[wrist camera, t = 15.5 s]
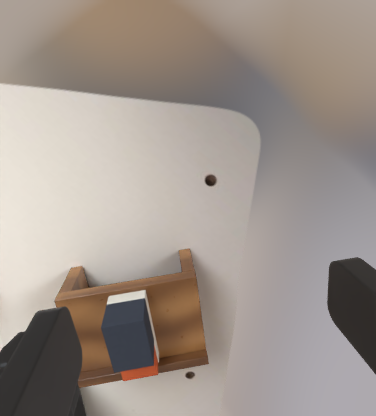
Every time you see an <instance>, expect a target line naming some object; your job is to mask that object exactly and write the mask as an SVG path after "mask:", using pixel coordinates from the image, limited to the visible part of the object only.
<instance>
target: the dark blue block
mask: <svg viewBox="0 0 376 416" xmlns="http://www.w3.org/2000/svg"><path fill="white" fill-rule="evenodd" d="M101 330H102V333H103V337H104V340H105V344H106V347H107V350H108V354H109V357H110V361H111V364H112V368H113V371H114V373H116V372H121V375H122V379H123V381H127V380H132V379H137V378H143V377H148V376H153V375H158V363H159V351H158V346H157V342H156V337H155V332H154V327H153V323H152V318H151V313H150V309H149V304H148V299H147V295H146V290H141V291H136V292H130V293H124V294H118V295H112V296H109V297H108V301H107V305H106V309H105V313H104V317H103V321H102V325H101Z"/></svg>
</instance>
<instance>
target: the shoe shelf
mask: <svg viewBox="0 0 376 416" xmlns="http://www.w3.org/2000/svg"><path fill="white" fill-rule="evenodd" d="M179 255H180V262H181V268H182V272H181V273H175V274H169V275H163V276H157V277H151V278H145V279H139V280H133V281H127V282H121V283H115V284H110V285H104V286H98V287H92V288H89V287H88V284H87V280H86V277H85V273H84V270H83V267H82V266H80V267H74V268H71V269H70V271H69V273H68V275H67V277H66V279H65V281H64V283H63V285H62V287H61V289H60V291H59V293H58V295H57V297H56V299H55V304H56V307H57V308H59V307H64V306H65V307H67V308H68V309H69V311H70V314H71V317H72V320H73V323H74V326H75V329H76V332H77V335H78V338H79V341H80V344H81V348H82V368H81V372H80V376H79V379H78V386H79V388H81V387H87V386H92V385H98V384H103V383H108V382H114V381H119V380H123V379H122V375H121V372H116V373H114V371H113V368H112V364H111V361H110V357H109V354H108V350H107V347H106V344H105V340H104V337H103V333H102V330H101V325H102V321H103V317H104V313H105V309H106V305H107V301H108V297H109V296H112V295H118V294H124V293H130V292H136V291H141V290H146V295H147V299H148V304H149V309H150V313H151V318H152V323H153V327H154V332H155V337H156V342H157V346H158V351H159V363H158V373H162V372H168V371H173V370H178V369H184V368H189V367H195V366H200V365H205V364H208V356H207V351H206V345H205V337H204V330H203V323H202V316H201V308H200V301H199V294H198V287H197V279H196V274H195V270H194V266H193V261H192V257H191V253H190V249H184V250H179Z"/></svg>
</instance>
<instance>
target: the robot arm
mask: <svg viewBox="0 0 376 416" xmlns="http://www.w3.org/2000/svg"><path fill="white" fill-rule="evenodd" d="M327 302H328V310H329V313H330V316H331V318H332V320H333V321H334V323H335V325H336V326H337V327H338V328H339V330H340V331H341V332H342V333H343V335H344V336H345V337H346V338H347V339H348V341H349V342H350V343H351V344H352V346H353V347H354V348H355V349H356V350H357V352H358V353H359V354H360V355H361V357H362V358H363V359H364V360H365V362H366V363H367V364H368V365H369V367H370V368H371V369H372V370H373V372H374V373H375V374H376V270H375V269H374V268H373V267H371V266H370V265H369V264H367V263H366V262H365V261H364V260H362V259H360V258H350V259H345V260H338V261H333V262H331V264H330V267H329V281H328V301H327ZM81 368H82V348H81V344H80V341H79V338H78V335H77V332H76V329H75V326H74V323H73V320H72V317H71V314H70V311H69V309H68V308H67V307H65V306H64V307H59V308H53V309H47V310H41V311H38V312H37V313H36V314H35V315H34V317H33V319H32V321H31V322H30V324H29V326H28V328H27V329H26V331H25V332H20V333H18V334H17V335H16V336H15V337H14V338H13V339H12V340H11V341H10V342H9V343H8V344H7V345H6V346H5V347H4V348H2V350H1V352H0V416H68V415H69V411H70V408H71V404H72V401H73V397H74V394H75V390H76V386H77V383H78V379H79V376H80V372H81Z"/></svg>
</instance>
